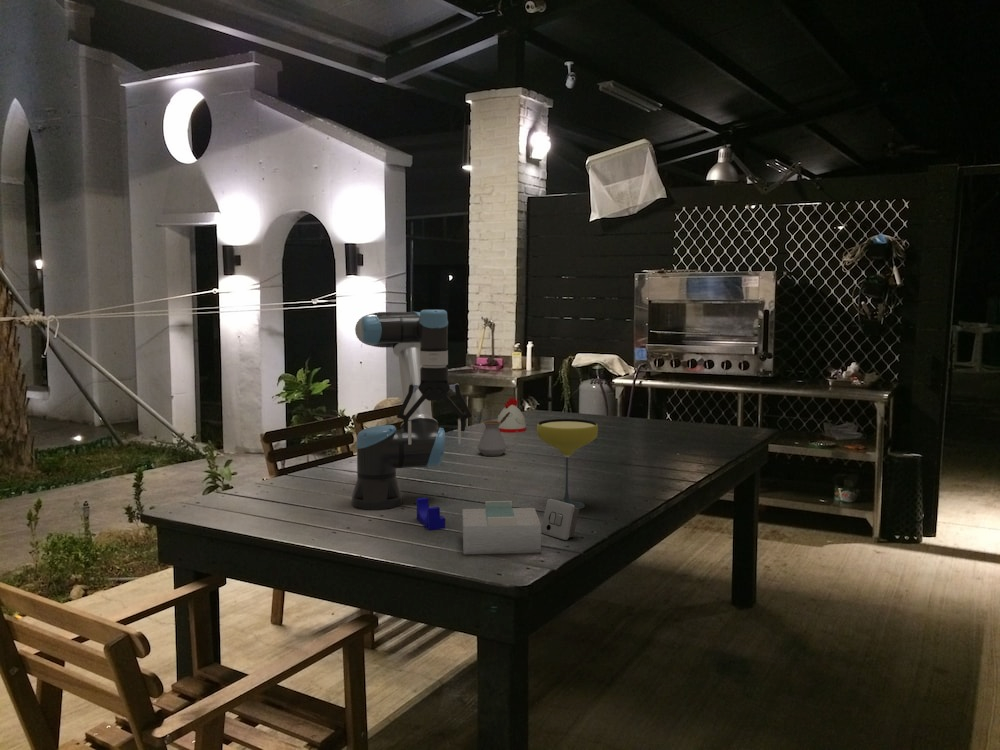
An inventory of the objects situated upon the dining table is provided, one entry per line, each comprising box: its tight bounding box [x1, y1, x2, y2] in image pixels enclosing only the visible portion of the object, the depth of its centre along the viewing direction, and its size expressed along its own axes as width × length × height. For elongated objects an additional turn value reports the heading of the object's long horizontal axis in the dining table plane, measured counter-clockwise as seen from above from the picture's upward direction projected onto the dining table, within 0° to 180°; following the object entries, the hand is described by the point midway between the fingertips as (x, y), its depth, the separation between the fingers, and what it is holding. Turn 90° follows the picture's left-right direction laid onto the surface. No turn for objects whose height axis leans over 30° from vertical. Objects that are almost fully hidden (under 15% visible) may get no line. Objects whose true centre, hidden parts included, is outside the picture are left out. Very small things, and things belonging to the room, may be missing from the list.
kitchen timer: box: [496, 397, 527, 434], centre depth 376 cm, size 14×14×15 cm
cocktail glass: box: [536, 418, 599, 510], centre depth 242 cm, size 18×18×25 cm
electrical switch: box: [541, 498, 580, 541], centre depth 214 cm, size 9×5×9 cm, turn 42°
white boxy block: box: [462, 500, 542, 555], centre depth 206 cm, size 19×16×9 cm
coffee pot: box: [477, 412, 512, 457], centre depth 324 cm, size 21×12×15 cm, turn 152°
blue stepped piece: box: [416, 497, 446, 531], centre depth 225 cm, size 12×4×6 cm, turn 22°
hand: (434, 443), depth 223 cm, fingers open, 13 cm apart
